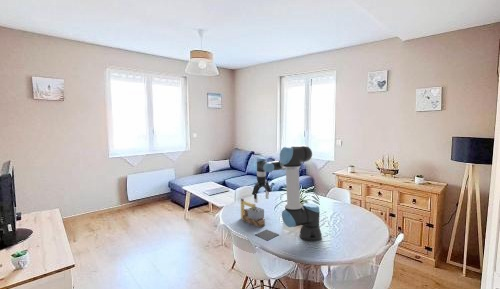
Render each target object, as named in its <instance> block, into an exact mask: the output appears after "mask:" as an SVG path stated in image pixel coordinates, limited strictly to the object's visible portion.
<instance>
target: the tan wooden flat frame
mask: <svg viewBox="0 0 500 289" xmlns="http://www.w3.org/2000/svg"><path fill="white" fill-rule="evenodd" d="M245 206H247V207H249V208H256V207H257V205H256V203H252V202H248V201H246V200H245V198H240V218H241V219H242V220H243V218H242V214H244V209H245Z"/></svg>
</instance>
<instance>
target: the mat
mask: <svg viewBox="0 0 500 289" xmlns="http://www.w3.org/2000/svg"><path fill="white" fill-rule="evenodd" d="M254 235H255V236H256V237H258V238H260V239H263V240H265V241H270V240H271V239H274V238H276V237H277V236H279V233H276V232H274V231H271V230H269V229H263V230H262V231H259V232H258V233H255V234H254Z"/></svg>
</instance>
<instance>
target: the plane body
mask: <svg viewBox="0 0 500 289" xmlns="http://www.w3.org/2000/svg"><path fill="white" fill-rule="evenodd" d="M248 209H249V208H244V214H242V218H243V219H242V218H241V219H242V221H244V222H246V223H248V224H250V225H253V226H255V227H258V228H262V227H265V226H266V224H265V223H266V222H265V221H266V220H265V218H263V219H261V220H258V221H255V220H253V219H250V218H248Z"/></svg>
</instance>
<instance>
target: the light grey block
mask: <svg viewBox="0 0 500 289" xmlns="http://www.w3.org/2000/svg"><path fill="white" fill-rule="evenodd" d="M247 209H248V218H250V219H253V220H255V221H258V220H261V219H265V209H264V208H261V207H258V206H256V208H252V207H249V208H247Z"/></svg>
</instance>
